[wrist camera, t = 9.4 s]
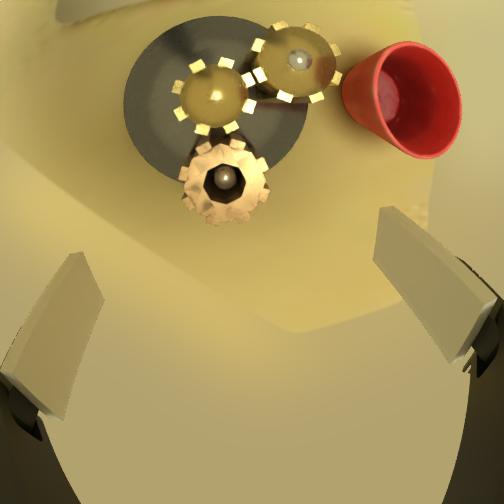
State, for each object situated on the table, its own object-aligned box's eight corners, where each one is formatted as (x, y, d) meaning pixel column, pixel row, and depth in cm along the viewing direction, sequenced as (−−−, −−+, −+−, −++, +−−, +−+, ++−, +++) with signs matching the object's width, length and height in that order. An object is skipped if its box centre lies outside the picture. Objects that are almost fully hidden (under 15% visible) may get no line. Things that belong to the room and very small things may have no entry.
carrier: (101, 78, 20) (64, 73, 13) (271, -6, 18) (289, -38, 11) (181, 211, 29) (170, 246, 22) (341, 134, 27) (378, 147, 20)
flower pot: (360, 158, 28) (410, 183, 20) (308, 77, 23) (350, 68, 15) (418, 116, 26) (474, 129, 17) (376, 39, 21) (430, 27, 12)
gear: (173, 155, 24) (161, 168, 19) (239, 119, 24) (245, 122, 18) (209, 213, 28) (207, 240, 23) (271, 181, 27) (284, 201, 22)
